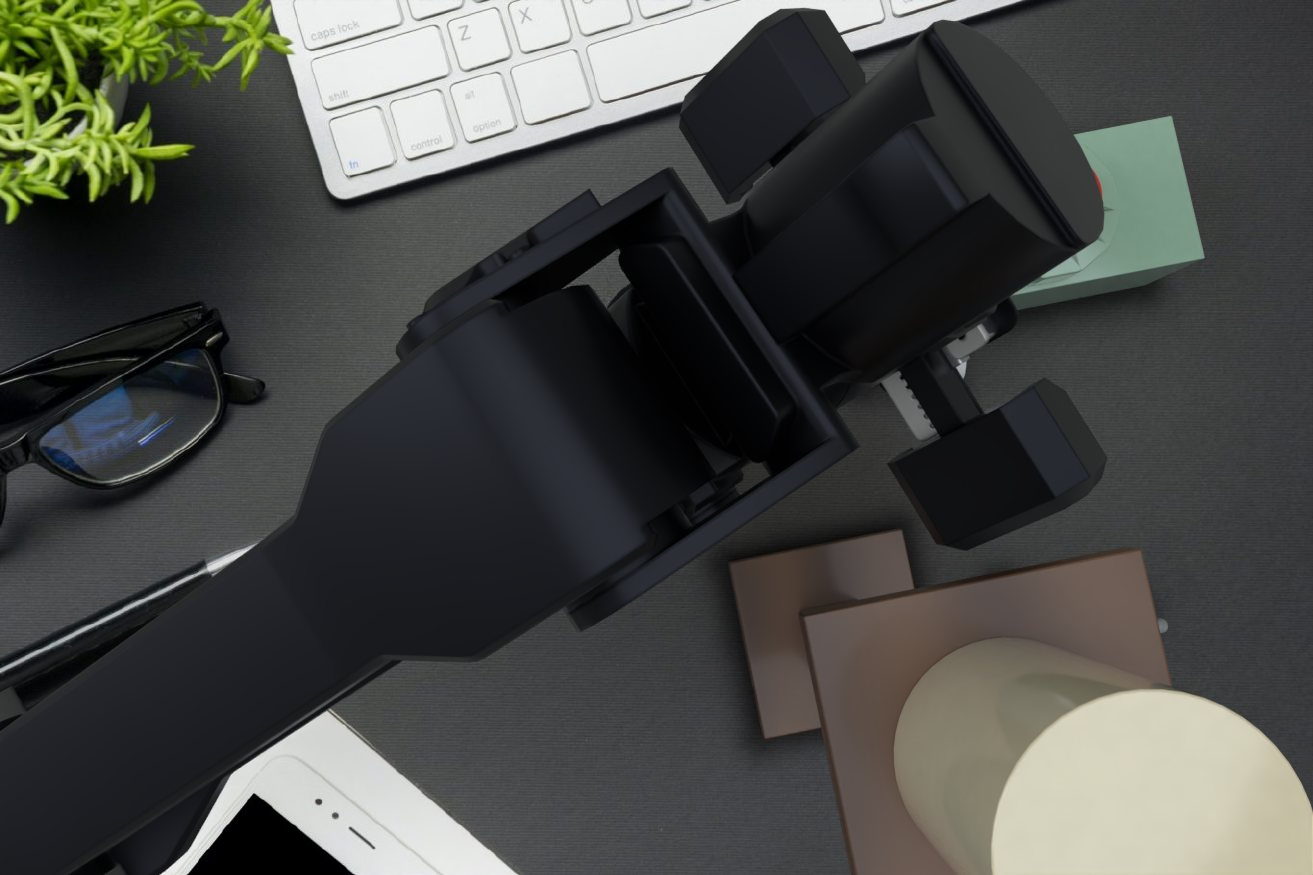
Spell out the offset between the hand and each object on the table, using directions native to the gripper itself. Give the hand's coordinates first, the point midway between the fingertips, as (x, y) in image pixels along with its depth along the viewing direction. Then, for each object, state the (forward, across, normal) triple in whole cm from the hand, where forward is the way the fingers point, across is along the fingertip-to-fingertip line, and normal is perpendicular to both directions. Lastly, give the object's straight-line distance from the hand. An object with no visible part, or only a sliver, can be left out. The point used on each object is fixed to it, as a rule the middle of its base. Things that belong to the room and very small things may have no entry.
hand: (974, 240), depth 43 cm
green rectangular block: (+15, -1, +4) cm, 16 cm away
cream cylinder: (-19, -13, -2) cm, 23 cm away
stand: (+1, -13, +18) cm, 22 cm away
